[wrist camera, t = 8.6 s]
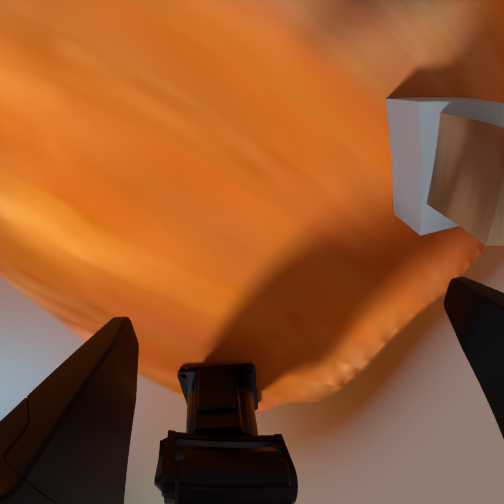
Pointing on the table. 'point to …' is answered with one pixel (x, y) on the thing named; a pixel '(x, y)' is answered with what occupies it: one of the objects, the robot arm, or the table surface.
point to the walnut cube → (470, 177)
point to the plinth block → (425, 151)
